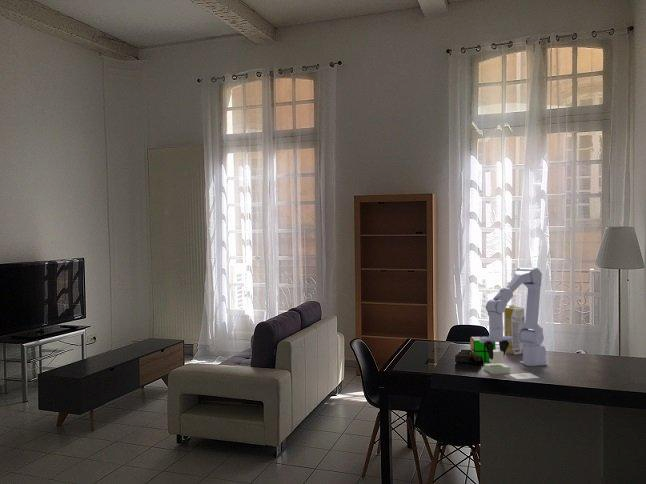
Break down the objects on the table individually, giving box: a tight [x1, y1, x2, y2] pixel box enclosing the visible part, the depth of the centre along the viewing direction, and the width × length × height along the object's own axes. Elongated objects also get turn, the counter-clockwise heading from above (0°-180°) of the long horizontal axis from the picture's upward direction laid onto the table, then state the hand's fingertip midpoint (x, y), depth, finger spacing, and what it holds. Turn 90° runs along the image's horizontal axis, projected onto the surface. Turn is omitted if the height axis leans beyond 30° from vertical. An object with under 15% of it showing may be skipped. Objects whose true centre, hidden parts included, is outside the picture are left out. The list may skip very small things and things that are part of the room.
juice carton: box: [503, 304, 526, 356], centre depth 267 cm, size 9×8×24 cm
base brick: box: [483, 362, 511, 375], centre depth 232 cm, size 8×8×3 cm
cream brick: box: [488, 349, 505, 364], centre depth 233 cm, size 4×4×5 cm
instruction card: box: [507, 372, 541, 380], centre depth 223 cm, size 10×8×1 cm
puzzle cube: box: [469, 336, 497, 363], centre depth 256 cm, size 10×10×10 cm
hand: (496, 358), depth 232 cm, fingers closed on cream brick, 4 cm apart
